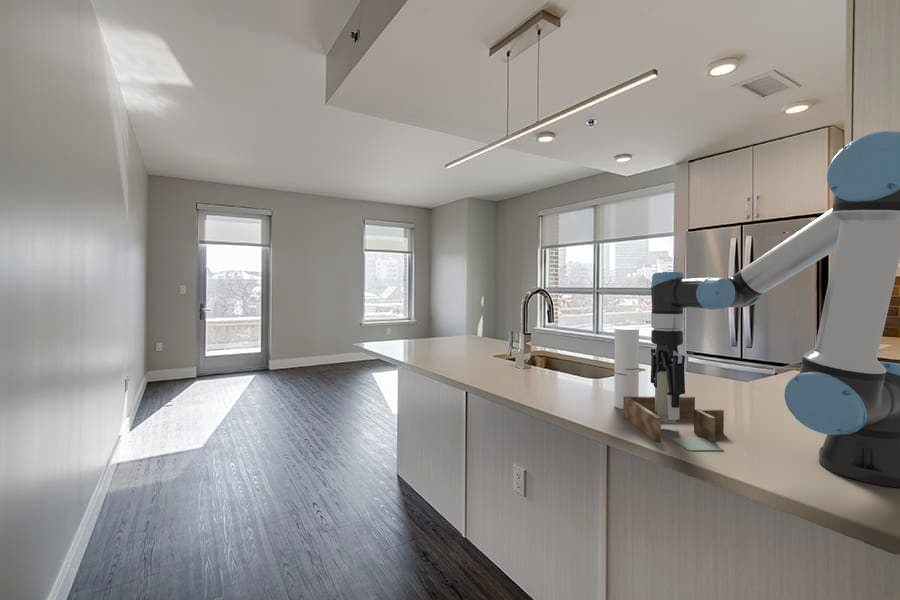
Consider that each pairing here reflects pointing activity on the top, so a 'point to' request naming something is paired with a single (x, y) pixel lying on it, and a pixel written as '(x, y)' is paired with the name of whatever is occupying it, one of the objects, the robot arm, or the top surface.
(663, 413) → the box
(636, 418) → the wooden u-shaped enclosure
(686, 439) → the pad
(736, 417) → the top surface
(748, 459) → the top surface
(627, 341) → the cylindrical container
